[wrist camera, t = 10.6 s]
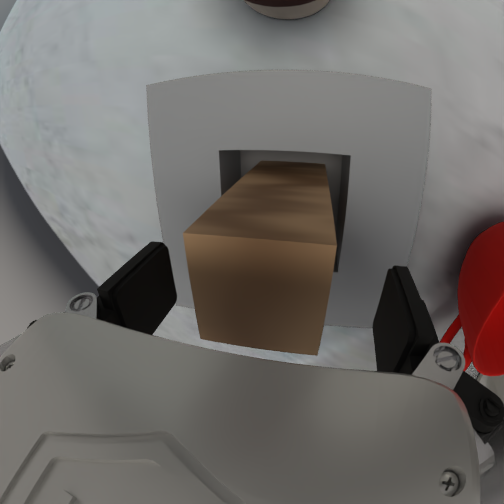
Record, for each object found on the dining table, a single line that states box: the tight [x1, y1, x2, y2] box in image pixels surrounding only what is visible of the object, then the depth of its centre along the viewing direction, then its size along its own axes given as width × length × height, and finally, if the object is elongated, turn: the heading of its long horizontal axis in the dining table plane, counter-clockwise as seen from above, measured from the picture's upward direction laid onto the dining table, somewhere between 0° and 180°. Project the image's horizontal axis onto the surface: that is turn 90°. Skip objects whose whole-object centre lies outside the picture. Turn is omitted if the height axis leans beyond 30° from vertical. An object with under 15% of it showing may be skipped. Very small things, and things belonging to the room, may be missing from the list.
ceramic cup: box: [440, 222, 504, 376], centre depth 17 cm, size 13×17×10 cm
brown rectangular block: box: [183, 161, 337, 355], centre depth 16 cm, size 5×5×14 cm
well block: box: [146, 70, 431, 328], centre depth 20 cm, size 18×18×6 cm
